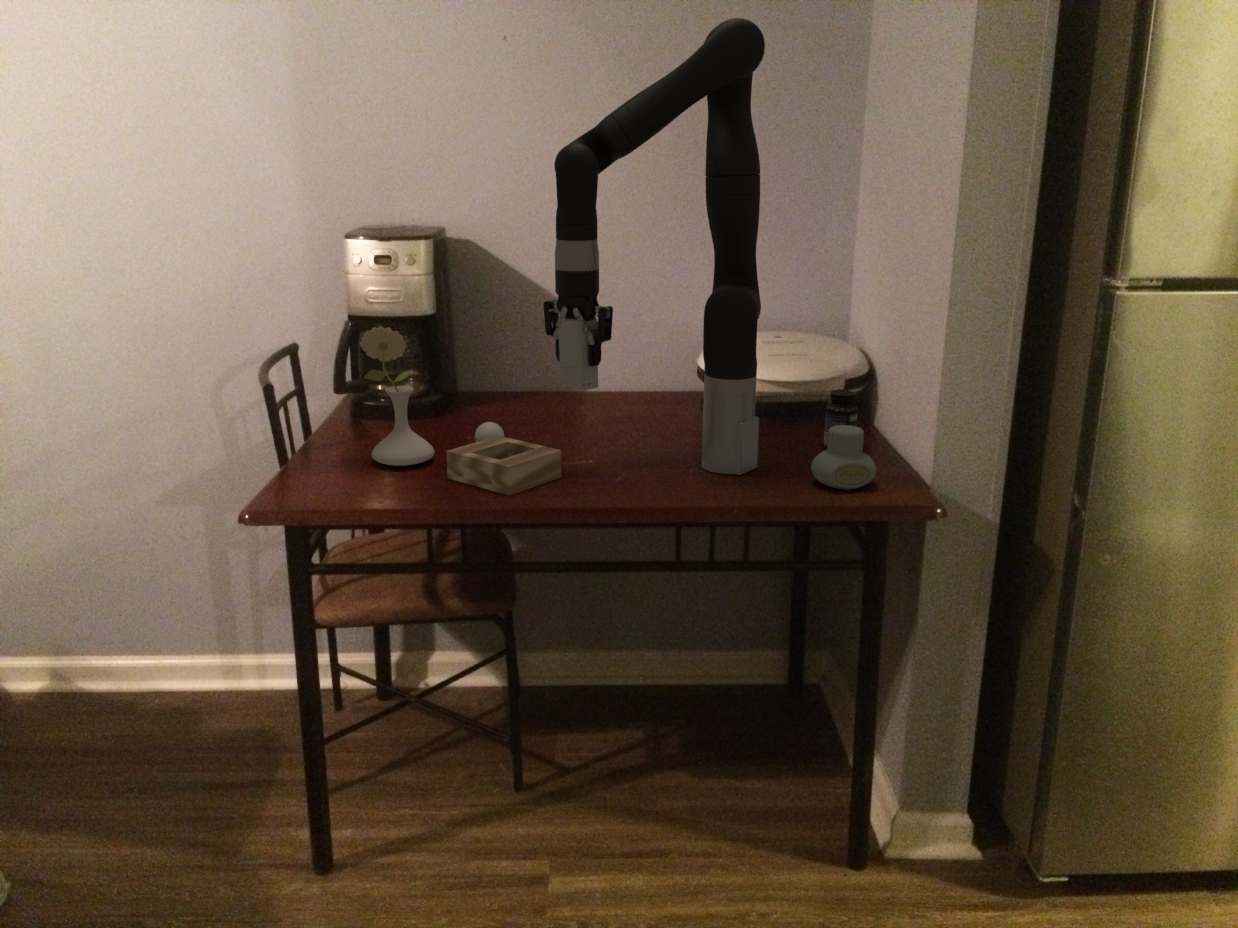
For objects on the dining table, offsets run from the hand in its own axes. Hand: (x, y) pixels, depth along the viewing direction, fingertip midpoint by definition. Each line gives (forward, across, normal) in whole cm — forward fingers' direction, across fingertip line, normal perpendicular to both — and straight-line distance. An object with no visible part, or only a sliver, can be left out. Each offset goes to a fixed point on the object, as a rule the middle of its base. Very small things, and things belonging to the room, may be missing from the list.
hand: (578, 362), depth 178 cm
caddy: (+20, +7, +12) cm, 24 cm away
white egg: (+20, +22, +2) cm, 30 cm away
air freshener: (+20, -41, -22) cm, 51 cm away
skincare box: (+5, 0, 0) cm, 5 cm away
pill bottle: (+20, -30, -43) cm, 56 cm away
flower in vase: (+20, +29, +17) cm, 39 cm away
